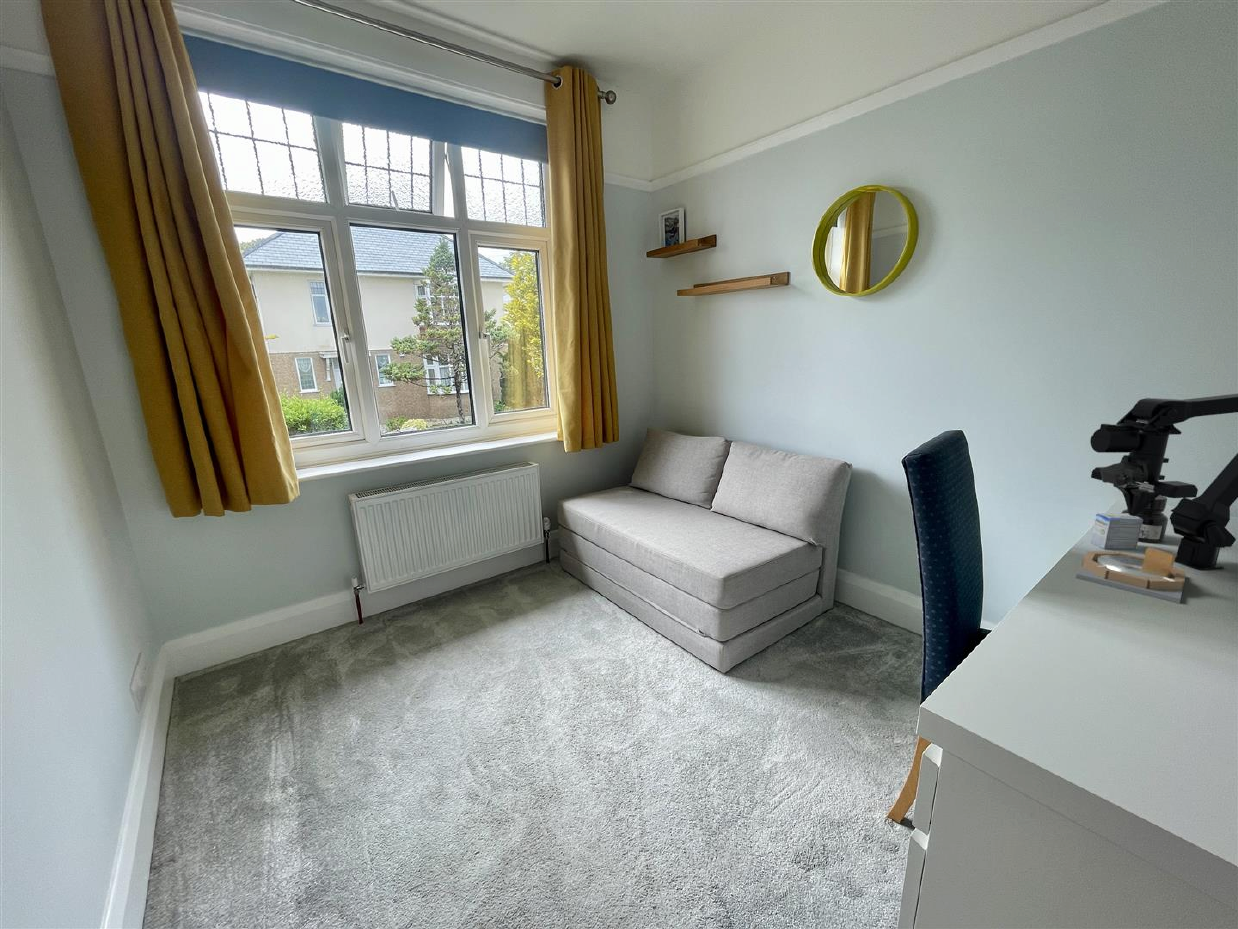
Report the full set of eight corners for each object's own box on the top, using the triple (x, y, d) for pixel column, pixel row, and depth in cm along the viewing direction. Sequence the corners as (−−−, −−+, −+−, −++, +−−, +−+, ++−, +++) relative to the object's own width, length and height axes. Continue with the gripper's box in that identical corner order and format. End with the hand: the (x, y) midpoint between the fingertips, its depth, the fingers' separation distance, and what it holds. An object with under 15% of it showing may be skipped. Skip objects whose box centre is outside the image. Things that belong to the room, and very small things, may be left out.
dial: (1085, 567, 116) (1090, 540, 114) (1112, 558, 120) (1118, 532, 118) (1153, 588, 105) (1160, 559, 103) (1180, 577, 109) (1187, 550, 108)
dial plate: (1089, 556, 124) (1092, 544, 124) (1184, 576, 112) (1187, 564, 111) (1076, 577, 113) (1078, 565, 113) (1179, 603, 101) (1182, 589, 100)
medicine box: (1121, 543, 131) (1128, 512, 130) (1136, 550, 127) (1144, 518, 125) (1089, 543, 132) (1095, 512, 130) (1103, 549, 128) (1110, 518, 126)
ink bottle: (1108, 534, 138) (1117, 493, 135) (1123, 529, 141) (1132, 489, 138) (1156, 546, 129) (1166, 503, 126) (1171, 540, 132) (1181, 498, 130)
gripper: (1075, 446, 123) (1064, 505, 127) (1158, 462, 105) (1142, 530, 109) (1118, 444, 124) (1106, 503, 127) (1207, 460, 106) (1190, 528, 109)
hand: (1132, 515), depth 118 cm, fingers closed
